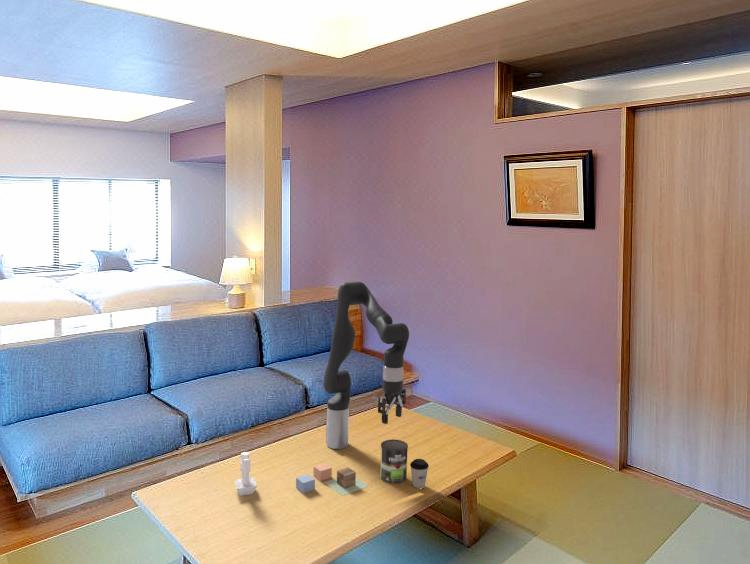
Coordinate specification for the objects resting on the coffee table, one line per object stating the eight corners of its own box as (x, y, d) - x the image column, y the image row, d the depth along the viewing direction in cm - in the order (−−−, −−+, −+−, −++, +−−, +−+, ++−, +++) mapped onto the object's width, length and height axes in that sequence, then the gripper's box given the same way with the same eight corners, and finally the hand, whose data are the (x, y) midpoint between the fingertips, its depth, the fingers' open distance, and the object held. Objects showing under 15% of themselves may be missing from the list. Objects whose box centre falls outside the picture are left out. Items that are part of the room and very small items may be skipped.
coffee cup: (405, 485, 216) (406, 460, 215) (418, 480, 220) (419, 455, 219) (418, 493, 211) (419, 467, 209) (431, 487, 215) (432, 462, 214)
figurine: (253, 484, 215) (253, 446, 212) (257, 496, 206) (257, 457, 204) (233, 487, 212) (233, 449, 210) (237, 500, 203) (236, 460, 201)
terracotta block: (313, 478, 220) (313, 466, 220) (324, 475, 223) (324, 462, 223) (320, 483, 216) (320, 471, 216) (331, 480, 219) (331, 467, 219)
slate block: (296, 490, 211) (296, 477, 210) (307, 486, 214) (307, 473, 213) (303, 496, 207) (303, 483, 206) (314, 492, 210) (315, 479, 209)
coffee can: (410, 484, 217) (411, 449, 215) (384, 487, 215) (385, 451, 212) (402, 471, 227) (403, 438, 225) (376, 474, 224) (377, 440, 222)
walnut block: (336, 483, 215) (337, 470, 214) (347, 479, 218) (347, 467, 217) (344, 488, 211) (344, 475, 210) (355, 484, 214) (355, 472, 213)
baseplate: (323, 484, 215) (323, 482, 215) (349, 475, 223) (349, 473, 223) (342, 498, 206) (342, 495, 206) (368, 488, 213) (368, 485, 213)
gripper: (396, 371, 217) (394, 411, 219) (372, 380, 206) (371, 423, 208) (412, 375, 212) (410, 417, 215) (389, 384, 201) (388, 428, 204)
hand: (391, 419), depth 211 cm, fingers open, 8 cm apart
